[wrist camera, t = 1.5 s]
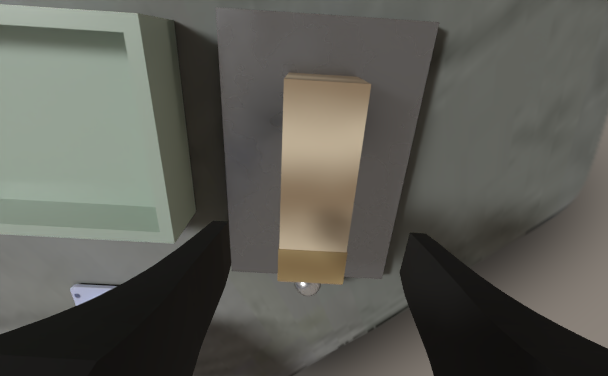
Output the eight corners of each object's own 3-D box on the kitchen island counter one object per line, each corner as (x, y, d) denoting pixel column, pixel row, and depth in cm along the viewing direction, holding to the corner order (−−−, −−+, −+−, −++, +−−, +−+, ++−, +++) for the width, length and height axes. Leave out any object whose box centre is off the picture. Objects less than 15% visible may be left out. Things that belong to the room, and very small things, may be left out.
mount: (378, 272, 25) (389, 306, 21) (234, 264, 24) (223, 298, 21) (432, 23, 17) (462, 17, 13) (220, 9, 17) (199, 0, 13)
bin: (196, 211, 22) (174, 243, 19) (-55, 197, 22) (-126, 227, 18) (174, 20, 17) (137, 13, 13) (-160, -2, 17) (-290, -15, 13)
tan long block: (336, 245, 22) (342, 285, 19) (282, 242, 22) (277, 281, 18) (358, 76, 17) (372, 84, 13) (287, 72, 17) (282, 78, 13)
